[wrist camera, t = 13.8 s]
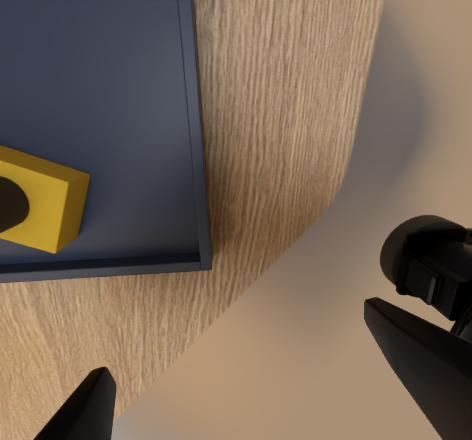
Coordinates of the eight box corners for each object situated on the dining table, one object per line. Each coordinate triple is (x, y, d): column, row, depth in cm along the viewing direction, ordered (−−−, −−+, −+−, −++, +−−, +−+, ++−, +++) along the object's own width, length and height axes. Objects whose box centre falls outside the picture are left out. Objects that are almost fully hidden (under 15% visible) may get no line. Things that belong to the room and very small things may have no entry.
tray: (187, -86, 15) (183, -117, 13) (212, 257, 22) (211, 270, 20) (-178, -82, 15) (-240, -115, 13) (-35, 272, 22) (-61, 287, 20)
